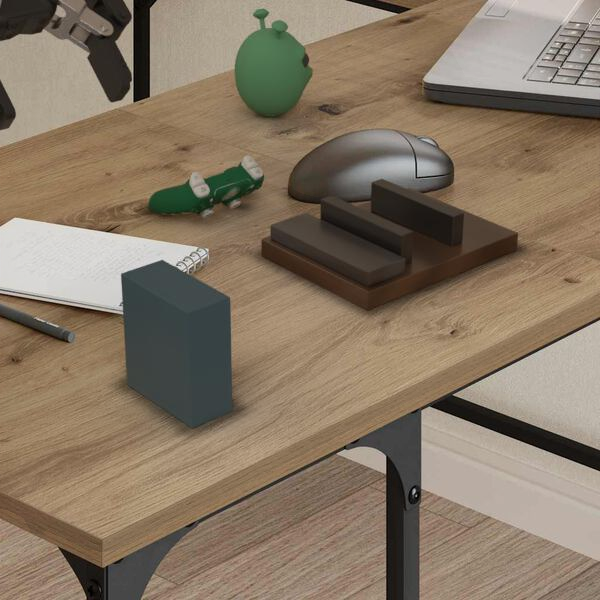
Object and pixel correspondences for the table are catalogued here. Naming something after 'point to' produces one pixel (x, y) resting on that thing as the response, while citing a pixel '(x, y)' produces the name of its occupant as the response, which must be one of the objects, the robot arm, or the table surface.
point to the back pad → (177, 342)
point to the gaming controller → (209, 191)
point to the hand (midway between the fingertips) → (66, 109)
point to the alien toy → (271, 68)
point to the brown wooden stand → (384, 244)
